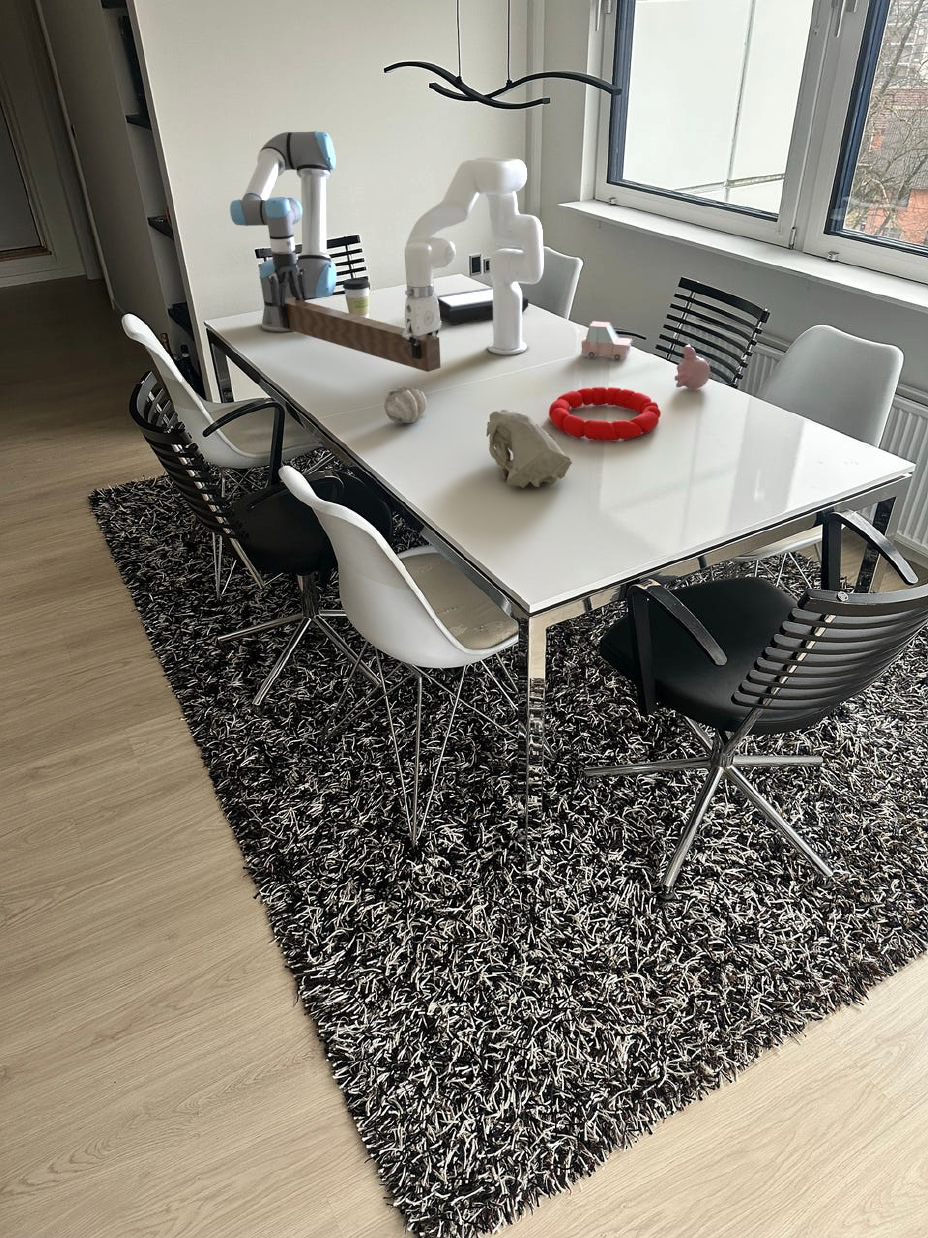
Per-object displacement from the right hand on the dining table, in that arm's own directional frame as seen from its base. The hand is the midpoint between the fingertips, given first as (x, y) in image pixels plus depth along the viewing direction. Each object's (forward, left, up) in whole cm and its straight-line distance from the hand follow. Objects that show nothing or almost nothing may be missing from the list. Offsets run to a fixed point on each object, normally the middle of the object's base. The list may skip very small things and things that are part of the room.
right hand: (423, 354), depth 258 cm
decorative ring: (+12, +54, -12) cm, 57 cm away
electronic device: (-85, -4, -12) cm, 86 cm away
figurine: (-18, +76, -12) cm, 79 cm away
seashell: (+21, +1, -12) cm, 25 cm away
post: (-16, -27, -4) cm, 31 cm away
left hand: (-31, -54, -3) cm, 63 cm away
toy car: (-44, +49, -12) cm, 66 cm away
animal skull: (+46, +37, -12) cm, 60 cm away
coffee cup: (-67, -44, -12) cm, 81 cm away
